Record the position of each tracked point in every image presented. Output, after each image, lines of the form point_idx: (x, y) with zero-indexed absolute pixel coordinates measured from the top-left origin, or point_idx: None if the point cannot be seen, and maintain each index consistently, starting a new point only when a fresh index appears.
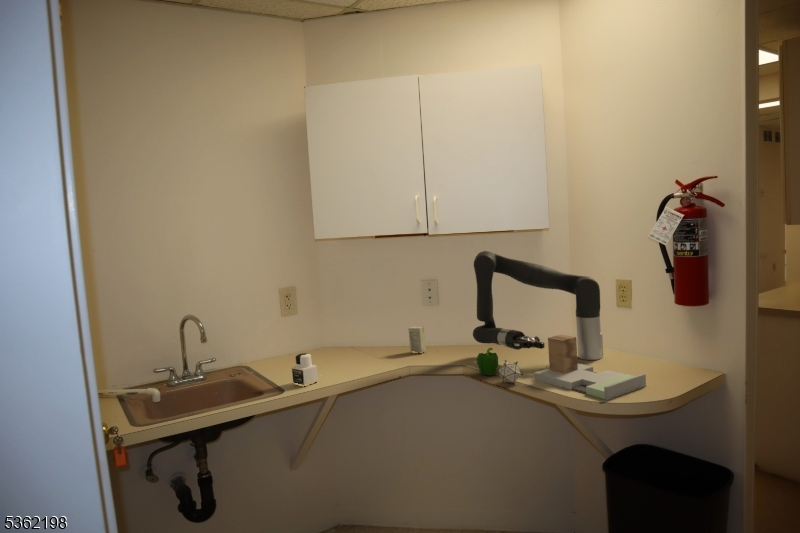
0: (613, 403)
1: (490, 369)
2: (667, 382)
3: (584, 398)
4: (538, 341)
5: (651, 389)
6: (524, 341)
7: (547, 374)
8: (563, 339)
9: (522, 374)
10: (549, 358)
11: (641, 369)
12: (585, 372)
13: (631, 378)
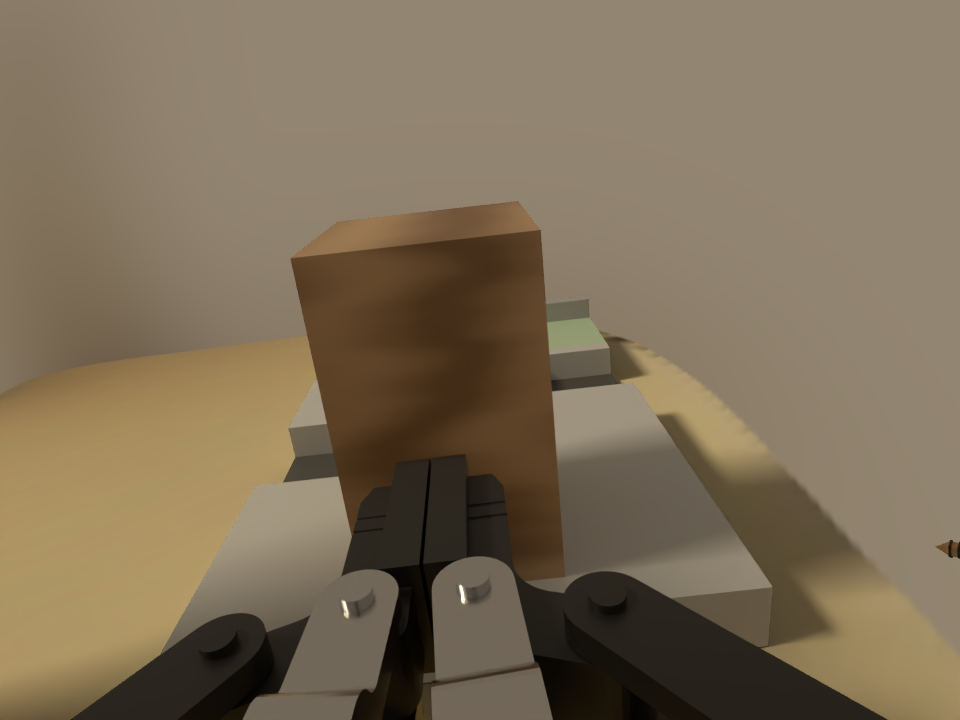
0: None
1: None
2: (255, 370)
3: (655, 364)
4: (389, 535)
5: None
6: (699, 679)
7: (674, 503)
8: (481, 208)
9: (955, 546)
10: (555, 467)
11: (63, 469)
12: None
13: None
